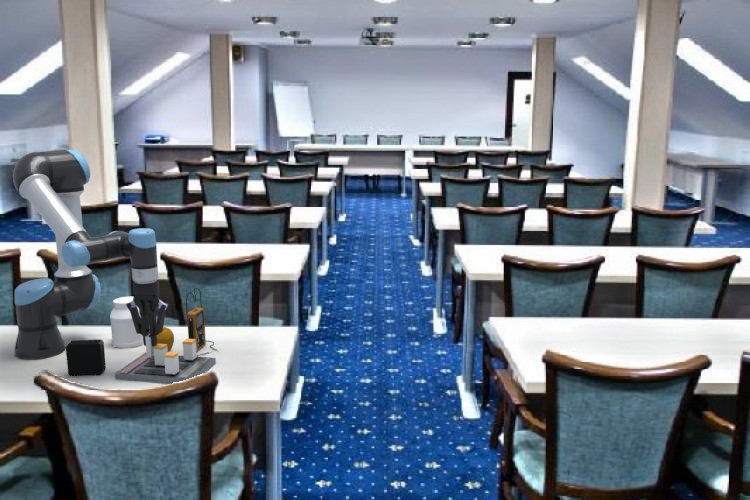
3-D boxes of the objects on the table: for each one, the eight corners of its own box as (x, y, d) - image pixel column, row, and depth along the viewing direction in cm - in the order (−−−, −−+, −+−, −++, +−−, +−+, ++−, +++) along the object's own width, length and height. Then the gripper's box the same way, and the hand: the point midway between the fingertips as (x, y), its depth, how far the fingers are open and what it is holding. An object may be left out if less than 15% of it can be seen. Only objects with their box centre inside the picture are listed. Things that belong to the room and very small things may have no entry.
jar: (139, 347, 253) (136, 304, 250) (110, 348, 252) (106, 305, 249) (147, 336, 264) (144, 294, 261) (119, 337, 263) (115, 295, 260)
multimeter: (213, 357, 243) (209, 297, 239) (184, 355, 245) (180, 295, 241) (230, 342, 257) (227, 285, 253) (203, 340, 259) (199, 284, 255)
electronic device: (72, 371, 232) (69, 340, 230) (106, 370, 233) (103, 339, 231) (68, 376, 228) (65, 345, 226) (102, 375, 229) (99, 343, 227)
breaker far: (183, 359, 235) (182, 341, 234) (187, 356, 238) (186, 338, 236) (192, 360, 234) (191, 342, 233) (196, 356, 237) (195, 339, 236)
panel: (115, 379, 226) (114, 372, 225) (145, 358, 243) (144, 351, 242) (190, 385, 221) (190, 378, 220) (215, 363, 238) (215, 357, 238)
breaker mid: (154, 364, 231) (153, 346, 229) (159, 361, 233) (158, 343, 232) (164, 365, 230) (162, 347, 229) (168, 362, 233) (167, 344, 231)
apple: (142, 355, 246) (140, 329, 244) (162, 347, 253) (160, 322, 251) (161, 359, 241) (159, 333, 240) (180, 352, 248) (179, 326, 247)
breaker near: (165, 373, 224) (164, 354, 222) (169, 370, 226) (168, 351, 225) (174, 374, 223) (173, 355, 222) (179, 370, 226) (178, 352, 224)
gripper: (119, 282, 225) (125, 358, 230) (159, 284, 222) (165, 361, 227) (132, 276, 232) (138, 350, 237) (171, 278, 229) (176, 353, 234)
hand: (151, 355), depth 232 cm, fingers closed
